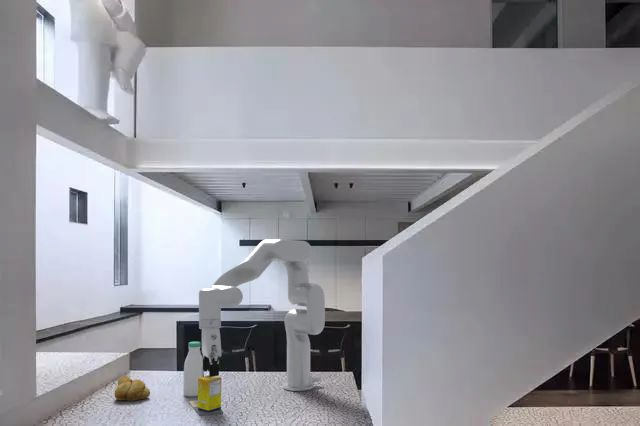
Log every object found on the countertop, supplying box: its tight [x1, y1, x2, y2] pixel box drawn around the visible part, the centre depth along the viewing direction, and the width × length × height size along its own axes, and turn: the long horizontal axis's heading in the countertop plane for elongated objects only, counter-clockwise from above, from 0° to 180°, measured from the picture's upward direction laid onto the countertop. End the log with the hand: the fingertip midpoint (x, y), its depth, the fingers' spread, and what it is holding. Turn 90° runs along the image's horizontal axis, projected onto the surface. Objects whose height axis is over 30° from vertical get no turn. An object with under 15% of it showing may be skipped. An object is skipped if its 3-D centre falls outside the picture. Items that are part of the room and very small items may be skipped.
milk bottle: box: [183, 341, 205, 398], centre depth 214 cm, size 8×8×20 cm
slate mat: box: [194, 407, 224, 417], centre depth 191 cm, size 8×8×1 cm
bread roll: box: [114, 375, 151, 402], centre depth 207 cm, size 13×10×8 cm
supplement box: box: [197, 375, 222, 413], centre depth 191 cm, size 6×6×11 cm
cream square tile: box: [188, 399, 198, 409], centre depth 199 cm, size 8×8×1 cm
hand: (210, 373), depth 192 cm, fingers open, 9 cm apart
